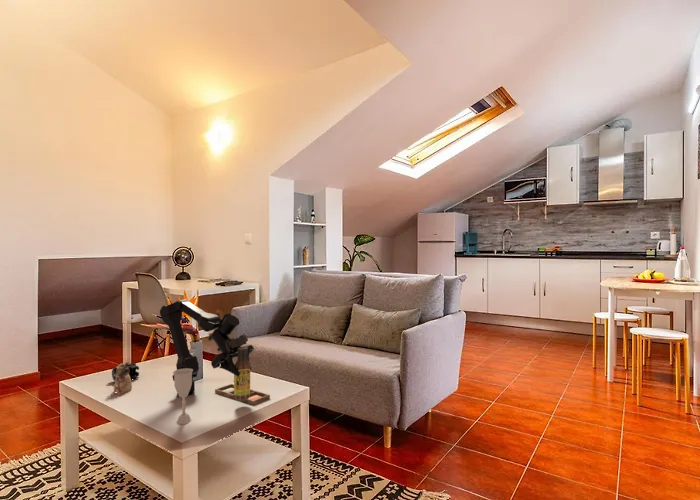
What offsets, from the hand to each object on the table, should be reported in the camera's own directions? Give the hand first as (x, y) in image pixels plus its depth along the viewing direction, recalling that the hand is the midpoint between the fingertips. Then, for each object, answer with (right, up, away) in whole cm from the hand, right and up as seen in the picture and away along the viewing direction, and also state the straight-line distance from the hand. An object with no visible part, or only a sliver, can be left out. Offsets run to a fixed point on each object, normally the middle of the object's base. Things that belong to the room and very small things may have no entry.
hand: (244, 373), depth 165 cm
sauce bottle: (-1, -10, +1) cm, 10 cm away
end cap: (-66, -14, +37) cm, 77 cm away
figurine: (-59, -14, +22) cm, 65 cm away
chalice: (-19, -14, -12) cm, 26 cm away
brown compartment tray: (-4, -13, +13) cm, 19 cm away
